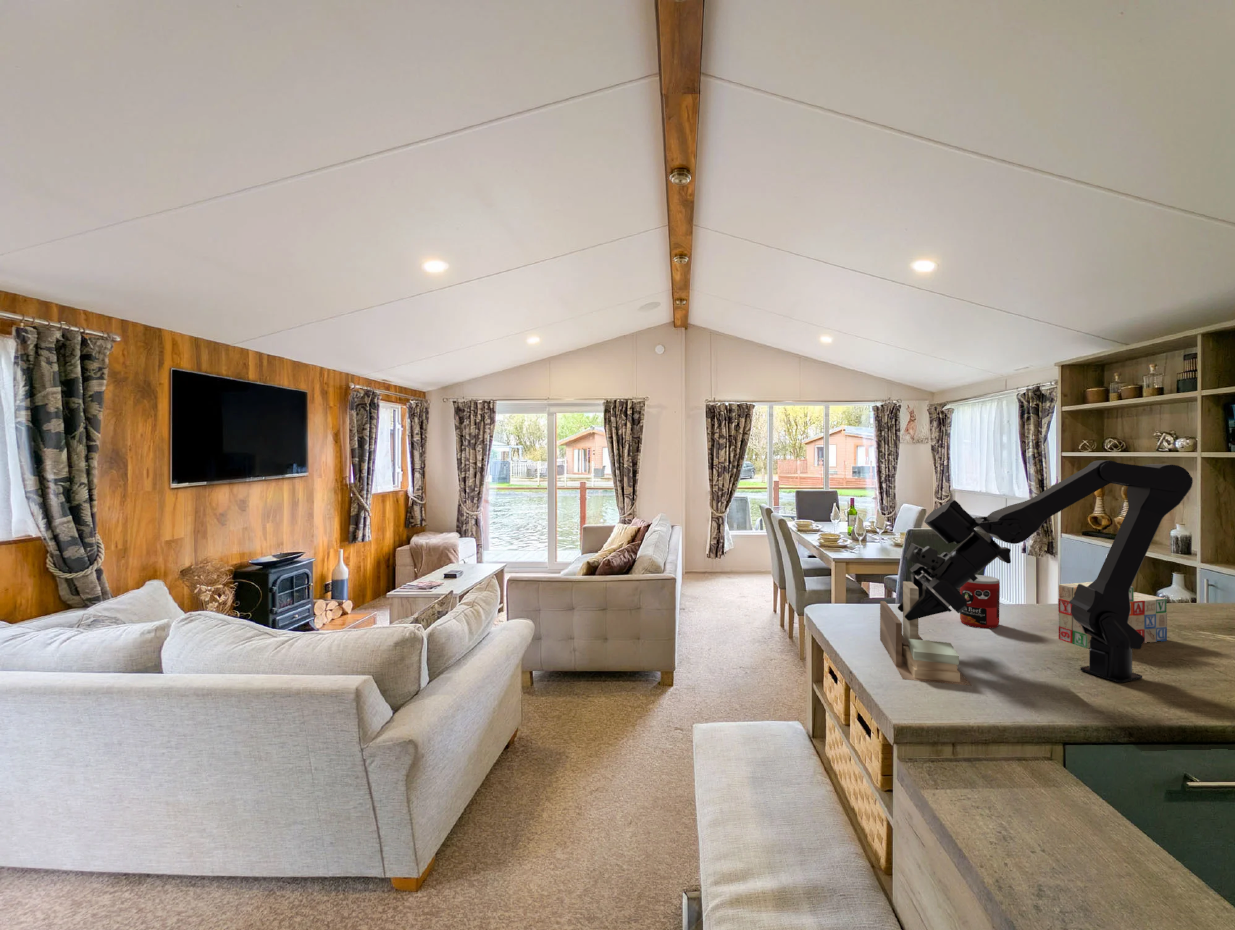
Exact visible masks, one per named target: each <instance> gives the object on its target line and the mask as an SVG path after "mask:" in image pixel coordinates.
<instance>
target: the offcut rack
mask: <svg viewBox="0 0 1235 930" xmlns="http://www.w3.org/2000/svg"><path fill="white" fill-rule="evenodd" d="M879 607H880V608H879V611H880V613H879V614H880V616H879V640H880V642H881V643H882V646H883V647H884V649H885V650H886V652H887V654H888V656H889V658H890V660H891V661H892V663H893V665H894V666H895V668H896V669H897V671H898V674H899V675H900V677H901V678H902V680H906V681H915V682H917V681H919V682H930V683H938V684H939V683H940V684H950V685H951V684H952V685H961V686H962V685H963V686H970V687H971V686H972V683H971V682H970V681H969V680H968V679H967V677H965V676H964V674H963V673H962V672H961V671H960V670H959V668H957V670H958V671H959V673H960V682H953V681H942V680H931V679H920V678H914V676H913V675H912V673H911V672H910V670H909V669H908V667H907V665H906V664H905V662H904V655H903V654H902V652H903V646H907V647H909V643H908V642H907V641H906V639H905V638H904V636H903V622H902V621H901V620H900V619H899V618H898V616H897V615H896V613H895V612H894V611H893V610H892V608H891V607H890V606H889V604H888V603H887V602H886V601H882V600H881V601H880V602H879ZM918 640H924V639H923V638H922V636H921V635H920V634H919V633H918Z"/></svg>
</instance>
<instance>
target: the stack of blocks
mask: <svg viewBox="0 0 1235 930" xmlns="http://www.w3.org/2000/svg"><path fill="white" fill-rule="evenodd" d="M1093 582H1094V581H1087V582H1086V581H1085V582H1075V583H1073V582H1072V583H1061V584H1058V601H1057V603H1058V607H1057V608H1058V640H1060V641H1063V642H1066V643H1070V644H1072V645H1076V646H1079V647H1081V648H1085V649H1090V640H1091V637H1092V636H1090V635H1089V634H1086V633H1084V631H1083V628H1082V626H1081V624H1079V623H1078V622H1077V621H1076V620H1075V619H1074V617H1073V615H1072V614H1071V607H1072V604H1070V603H1069V601H1070V600H1072V599H1073V597H1074V596H1075V592H1076V588H1077V586H1078V584H1082V585H1084V586H1086V587H1087V586H1089V585H1090V584H1091V583H1093ZM1134 591H1135V590H1134V586H1131V588H1130V590H1129V598H1130V607H1131V611H1130V615H1129V619H1128V624H1129V625H1130V626H1131V627H1133V628H1134V629H1135V630H1136V631H1137V632H1138V633H1139V634H1141V635H1142V636H1143V637H1144V638H1145V640H1144V642H1143V644H1147V642H1150V643H1158V642H1157V641H1161V642H1167V641H1168V612H1167V606H1168V605H1167V604H1168V603H1167V601H1168V600H1167V598H1165V597H1159V596H1155V595H1150V594H1146V593H1140V592H1137V591H1135V592H1134Z"/></svg>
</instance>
